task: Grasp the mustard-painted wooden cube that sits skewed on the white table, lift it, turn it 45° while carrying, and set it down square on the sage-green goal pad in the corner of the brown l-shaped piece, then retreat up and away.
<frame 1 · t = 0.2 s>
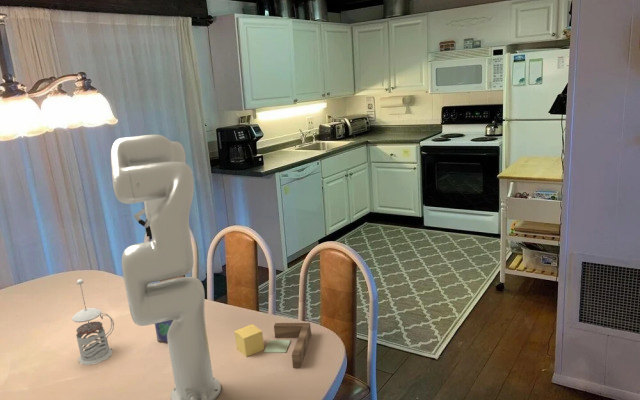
hand: (166, 235, 159), 31 cm above the table, fingers open, 9 cm apart
brown l-shaped piece: (303, 338, 149), on the table
purple clover tin: (170, 342, 153), on the table
cube: (250, 349, 145), on the table
french press: (98, 355, 149), on the table
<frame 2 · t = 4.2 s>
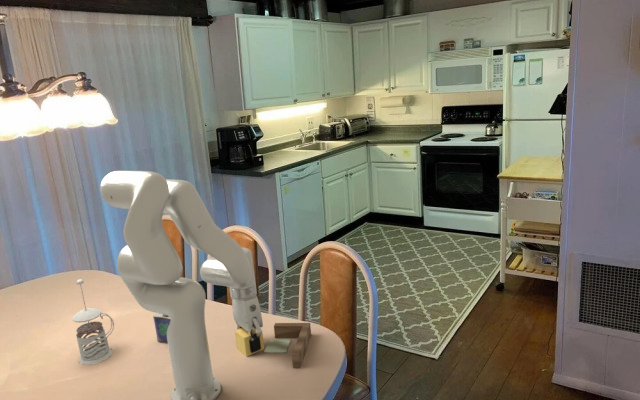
hand: (250, 345, 145), 1 cm above the table, fingers closed on cube, 6 cm apart
cube: (250, 348, 145), on the table, touching gripper
everything else where it was.
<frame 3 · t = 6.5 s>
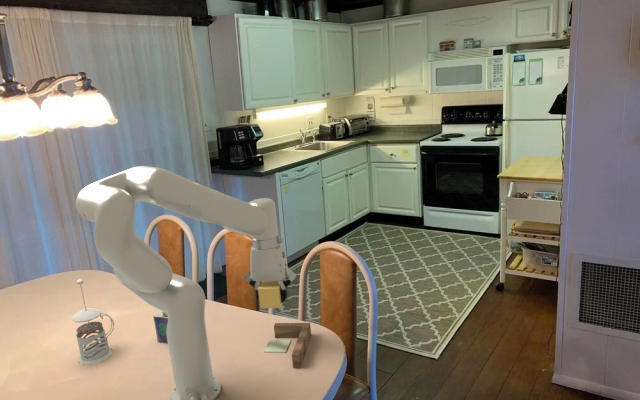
hand: (272, 300, 142), 15 cm above the table, fingers closed on cube, 6 cm apart
cube: (272, 303, 142), point 14 cm above the table, touching gripper
everything else where it was.
when the fingers open (3 cm above the table, at t = 9.1 s): cube drops 1 cm, resting on brown l-shaped piece.
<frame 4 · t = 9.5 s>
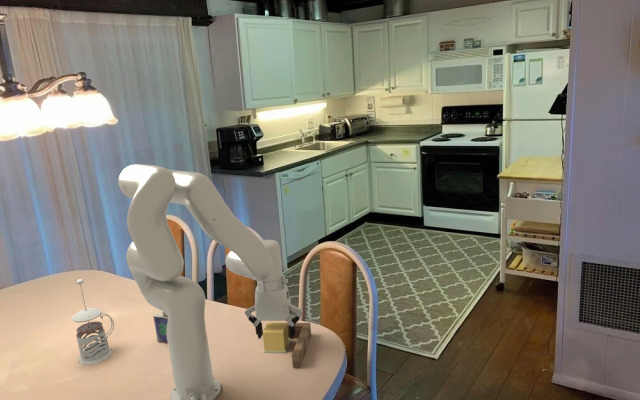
hand: (276, 336, 144), 3 cm above the table, fingers open, 9 cm apart
cube: (277, 345, 145), resting on brown l-shaped piece
everything else where it was.
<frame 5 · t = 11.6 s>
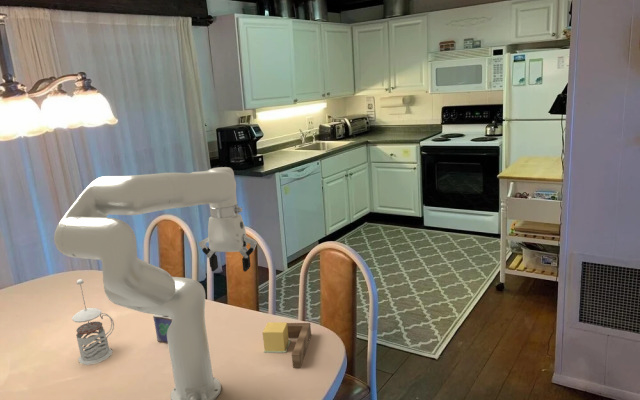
hand: (230, 269, 140), 25 cm above the table, fingers open, 9 cm apart
nothing on the table moved.
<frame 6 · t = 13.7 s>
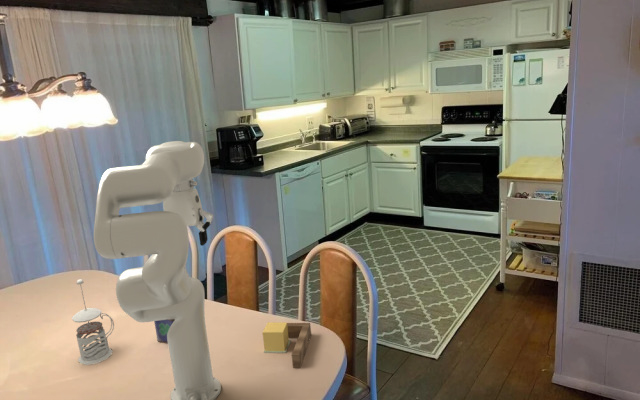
hand: (187, 244, 140), 33 cm above the table, fingers open, 9 cm apart
nothing on the table moved.
at the end: cube 0.1 cm from the target spot on the brown l-shaped piece, point 0.3 cm above the brown l-shaped piece's base; cube tilted 0°; cube moved 8.0 cm from its start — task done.
